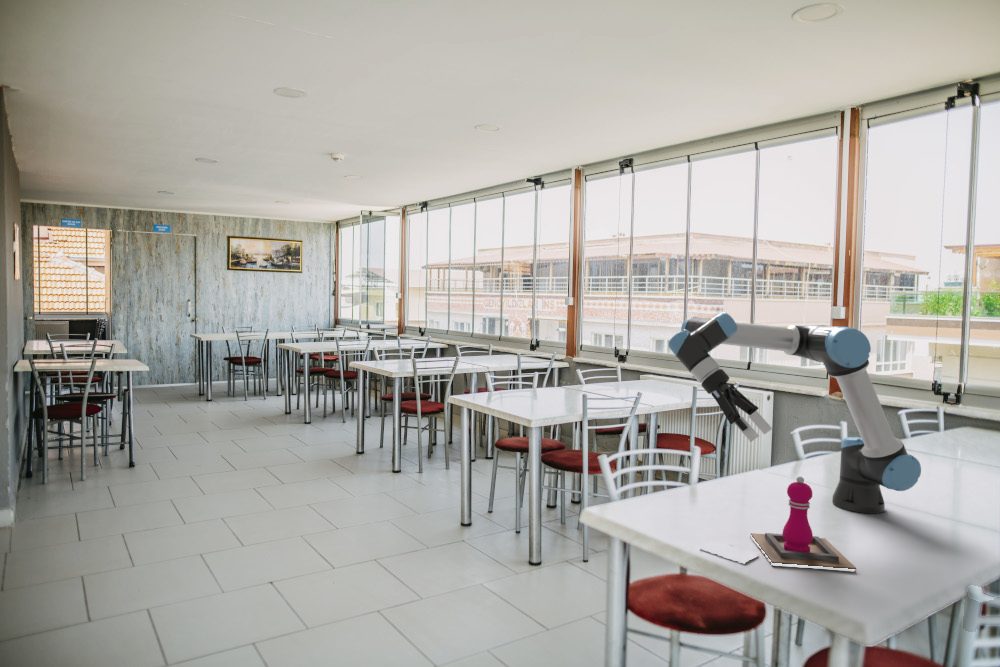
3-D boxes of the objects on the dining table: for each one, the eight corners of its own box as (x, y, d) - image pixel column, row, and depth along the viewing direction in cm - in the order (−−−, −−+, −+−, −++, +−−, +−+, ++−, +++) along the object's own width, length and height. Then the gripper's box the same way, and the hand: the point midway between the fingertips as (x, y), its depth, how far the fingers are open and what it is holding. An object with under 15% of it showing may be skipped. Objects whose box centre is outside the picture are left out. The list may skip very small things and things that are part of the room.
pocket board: (824, 542, 179) (825, 533, 179) (855, 572, 160) (856, 562, 159) (750, 537, 182) (751, 528, 182) (772, 566, 162) (772, 556, 162)
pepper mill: (777, 551, 169) (780, 476, 168) (787, 544, 174) (791, 471, 173) (805, 559, 164) (809, 482, 163) (816, 552, 169) (820, 477, 168)
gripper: (715, 380, 198) (763, 436, 190) (685, 388, 178) (738, 450, 170) (733, 364, 194) (783, 421, 186) (705, 370, 174) (760, 433, 166)
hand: (762, 435), depth 178 cm, fingers open, 13 cm apart
